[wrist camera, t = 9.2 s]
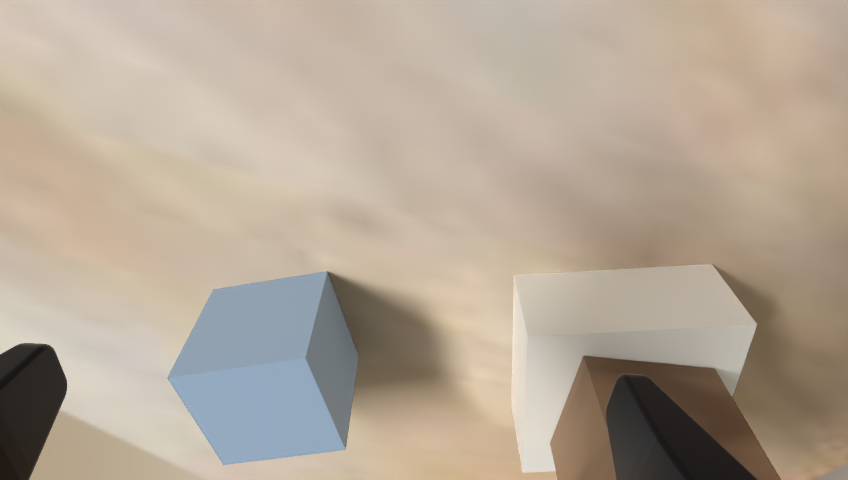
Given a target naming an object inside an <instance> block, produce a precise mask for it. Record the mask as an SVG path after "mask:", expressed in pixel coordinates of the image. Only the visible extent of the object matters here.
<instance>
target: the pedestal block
mask: <svg viewBox="0 0 848 480" xmlns="http://www.w3.org/2000/svg"><path fill="white" fill-rule="evenodd" d="M756 327H757V324H756V322H755V321H754V320H753V318H752V317H751V316H750V314H749V313H748V312H747V310H746V309H745V308H744V306H743V305H742V303H741V302H740V301H739V299H738V298H737V297H736V295H735V294H734V293H733V291H732V290H731V289H730V287H729V286H728V285H727V283H726V282H725V281H724V279H723V278H722V277H721V275H720V274H719V273H718V271H717V270H716V269H715V267H714V266H713V265H712V264H702V265H684V266H666V267H648V268H630V269H613V270H595V271H577V272H559V273H541V274H523V275H514V304H513V354H512V403H511V406H512V412H513V418H514V424H515V430H516V436H517V442H518V448H519V454H520V460H521V467H522V473H524V472H548V471H556V469H555V465H554V460H553V455H552V451H551V446H550V442H551V439H552V436H553V434H554V431H555V428H556V426H557V423H558V421H559V418H560V415H561V413H562V410H563V408H564V405H565V402H566V400H567V397H568V394H569V392H570V389H571V387H572V384H573V381H574V379H575V376H576V374H577V371H578V368H579V366H580V363H581V361H582V358H583V356H593V357H603V358H613V359H623V360H633V361H643V362H653V363H663V364H674V365H684V366H694V367H704V368H714V369H715V370H716V371H717V373H718V375H719V376H720V378H721V380H722V381H723V383H724V385H725V386H726V388H727V390H728V391H729V393H730V395H731V396H732V397H733V394H734V391H735V389H736V386H737V383H738V380H739V377H740V374H741V371H742V368H743V365H744V362H745V359H746V356H747V353H748V350H749V347H750V344H751V341H752V339H753V336H754V333H755V330H756Z"/></svg>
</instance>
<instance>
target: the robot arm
mask: <svg viewBox="0 0 848 480" xmlns="http://www.w3.org/2000/svg"><path fill="white" fill-rule="evenodd" d="M66 391H67V380H66V377H65V374H64V372H63V370H62V367H61V365H60V362H59V360H58V357H57V355H56V353H55V350H54V349H53V348H52V347H51V346H50V345H47V344H34V343H23V344H19V345H17V346H15V347H13V348H11V349H9V350H7V351H6V352H4V353H2V354H0V480H29V478H30V476H31V474H32V472H33V470H34V467H35V465H36V463H37V460H38V458H39V456H40V453H41V451H42V449H43V446H44V444H45V442H46V439H47V437H48V435H49V432H50V430H51V428H52V426H53V423H54V421H55V419H56V416H57V414H58V412H59V409H60V407H61V405H62V402H63V400H64V398H65V395H66ZM606 423H607V429H608V435H609V441H610V446H611V452H612V458H613V464H614V470H615V475H616V480H758V479H757V478H756V477H755V476H754V475H753V474H752V473H751V472H750V471H748V470H747V469H746V468H745V467H744V466H743V465H742V464H741V463H740V462H739V461H738V460H737V459H736V458H735V457H734V456H732V455H731V454H730V453H729V452H728V451H727V450H726V449H725V448H724V447H723V446H722V445H721V444H720V443H719V442H718V441H717V440H715V439H714V438H713V437H712V436H711V435H710V434H709V433H708V432H707V431H706V430H705V429H704V428H703V427H702V426H701V425H699V424H698V423H697V422H696V421H695V420H694V419H693V418H692V417H691V416H690V415H689V414H688V413H687V412H686V411H685V410H684V409H682V408H681V407H680V406H679V405H678V404H677V403H676V402H675V401H674V400H673V399H672V398H671V397H670V396H669V395H668V394H666V393H665V392H664V391H663V390H662V389H661V388H660V387H659V386H658V385H657V384H656V383H655V382H654V381H653V380H652V379H650V378H649V377H648V376H646V375H643V374H626V373H624V374H621V375H620V376H619V377H618V378H617V380H616V383H615V386H614V388H613V391H612V394H611V396H610V399H609V402H608V404H607V408H606Z"/></svg>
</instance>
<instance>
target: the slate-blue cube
mask: <svg viewBox="0 0 848 480" xmlns="http://www.w3.org/2000/svg"><path fill="white" fill-rule="evenodd" d="M358 359H359V357H358V354H357V351H356V348H355V346H354V343H353V340H352V338H351V335H350V332H349V329H348V327H347V324H346V321H345V318H344V316H343V313H342V310H341V307H340V305H339V302H338V299H337V296H336V294H335V291H334V288H333V285H332V283H331V280H330V277H329V275H328V272H327V271H326V272H320V273H313V274H307V275H301V276H295V277H289V278H282V279H276V280H270V281H264V282H257V283H251V284H245V285H239V286H233V287H226V288H220V289H214V290H213V291H212V293H211V295H210V297H209V299H208V301H207V303H206V304H205V306H204V308H203V310H202V312H201V314H200V316H199V318H198V320H197V322H196V324H195V326H194V328H193V329H192V331H191V333H190V335H189V337H188V339H187V341H186V343H185V345H184V347H183V349H182V351H181V353H180V354H179V356H178V358H177V360H176V362H175V364H174V366H173V368H172V370H171V372H170V374H169V376H168V380H169V381H170V383H171V385H172V386H173V388H174V389H175V391H176V392H177V394H178V395H179V397H180V398H181V400H182V402H183V403H184V405H185V406H186V408H187V409H188V411H189V412H190V414H191V415H192V417H193V419H194V420H195V422H196V423H197V425H198V426H199V428H200V429H201V431H202V432H203V434H204V436H205V437H206V439H207V440H208V442H209V443H210V445H211V446H212V448H213V449H214V451H215V453H216V454H217V456H218V457H219V459H220V460H221V462H222V463H223V465H227V464H235V463H243V462H251V461H259V460H267V459H275V458H283V457H292V456H300V455H308V454H316V453H324V452H332V451H340V450H346V444H347V437H348V430H349V423H350V415H351V408H352V401H353V394H354V387H355V380H356V373H357V366H358Z"/></svg>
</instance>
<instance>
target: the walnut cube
mask: <svg viewBox="0 0 848 480" xmlns="http://www.w3.org/2000/svg"><path fill="white" fill-rule="evenodd" d="M624 373H626V374H643V375H646V376H648V377H649V378H650V379H652V380H653V381H654V382H655V383H656V384H657V385H658V386H659V387H660V388H661V389H662V390H663V391H664V392H665V393H666V394H668V395H669V396H670V397H671V398H672V399H673V400H674V401H675V402H676V403H677V404H678V405H679V406H680V407H681V408H682V409H684V410H685V411H686V412H687V413H688V414H689V415H690V416H691V417H692V418H693V419H694V420H695V421H696V422H697V423H698V424H699V425H701V426H702V427H703V428H704V429H705V430H706V431H707V432H708V433H709V434H710V435H711V436H712V437H713V438H714V439H715V440H717V441H718V442H719V443H720V444H721V445H722V446H723V447H724V448H725V449H726V450H727V451H728V452H729V453H730V454H731V455H732V456H734V457H735V458H736V459H737V460H738V461H739V462H740V463H741V464H742V465H743V466H744V467H745V468H746V469H747V470H748V471H750V472H751V473H752V474H753V475H754V476H755V477H756V478H757V479H758V480H781V479H780V477H779V475H778V474H777V472H776V470H775V469H774V467H773V465H772V464H771V462H770V460H769V459H768V457H767V455H766V454H765V452H764V450H763V449H762V447H761V445H760V444H759V442H758V440H757V438H756V437H755V435H754V433H753V432H752V430H751V428H750V427H749V425H748V423H747V422H746V420H745V418H744V417H743V415H742V413H741V412H740V410H739V408H738V407H737V405H736V403H735V401H734V400H733V398H732V396H731V395H730V393H729V391H728V390H727V388H726V386H725V385H724V383H723V381H722V380H721V378H720V376H719V375H718V373H717V371H716V370H715V369H714V368H704V367H694V366H684V365H674V364H663V363H653V362H643V361H633V360H623V359H613V358H603V357H593V356H583V358H582V361H581V363H580V366H579V368H578V371H577V374H576V376H575V379H574V381H573V384H572V387H571V389H570V392H569V394H568V397H567V400H566V402H565V405H564V408H563V410H562V413H561V415H560V418H559V421H558V423H557V426H556V428H555V431H554V434H553V436H552V439H551V442H550V446H551V451H552V455H553V460H554V465H555V469H556V474H557V478H558V480H616V475H615V470H614V464H613V458H612V452H611V446H610V441H609V435H608V429H607V423H606V408H607V404H608V402H609V399H610V396H611V394H612V391H613V388H614V386H615V383H616V380H617V378H618V377H619V376H620V375H621V374H624Z"/></svg>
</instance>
